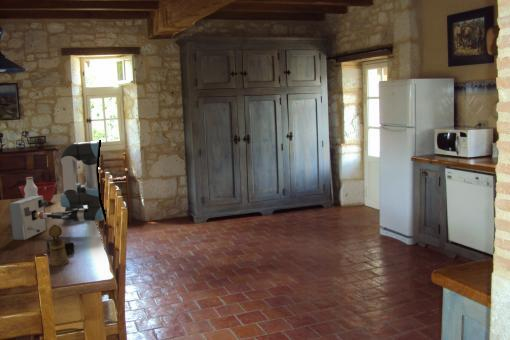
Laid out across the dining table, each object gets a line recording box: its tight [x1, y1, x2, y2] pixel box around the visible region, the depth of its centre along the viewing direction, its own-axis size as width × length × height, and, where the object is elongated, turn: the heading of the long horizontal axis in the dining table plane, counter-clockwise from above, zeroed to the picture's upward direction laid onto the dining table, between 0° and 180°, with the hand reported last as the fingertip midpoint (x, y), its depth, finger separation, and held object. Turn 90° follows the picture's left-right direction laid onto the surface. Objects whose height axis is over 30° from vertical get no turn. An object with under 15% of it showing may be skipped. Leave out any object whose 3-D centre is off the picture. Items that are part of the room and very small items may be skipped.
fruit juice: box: [24, 176, 38, 198], centre depth 384 cm, size 9×9×28 cm
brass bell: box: [48, 224, 69, 267], centre depth 263 cm, size 9×14×18 cm, turn 23°
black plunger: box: [38, 201, 49, 208], centre depth 332 cm, size 6×4×4 cm, turn 81°
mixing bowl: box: [18, 182, 57, 204], centre depth 433 cm, size 28×28×16 cm
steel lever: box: [28, 226, 40, 234], centre depth 317 cm, size 7×2×2 cm, turn 82°
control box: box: [8, 196, 48, 241], centre depth 325 cm, size 10×24×22 cm, turn 171°
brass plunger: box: [31, 211, 46, 219], centre depth 325 cm, size 8×5×5 cm, turn 81°
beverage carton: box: [46, 237, 75, 256], centre depth 283 cm, size 8×19×7 cm, turn 42°
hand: (43, 215), depth 323 cm, fingers closed
